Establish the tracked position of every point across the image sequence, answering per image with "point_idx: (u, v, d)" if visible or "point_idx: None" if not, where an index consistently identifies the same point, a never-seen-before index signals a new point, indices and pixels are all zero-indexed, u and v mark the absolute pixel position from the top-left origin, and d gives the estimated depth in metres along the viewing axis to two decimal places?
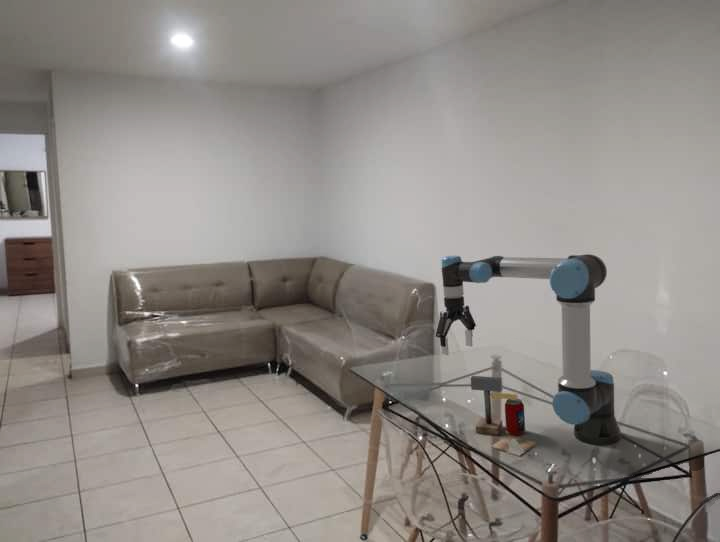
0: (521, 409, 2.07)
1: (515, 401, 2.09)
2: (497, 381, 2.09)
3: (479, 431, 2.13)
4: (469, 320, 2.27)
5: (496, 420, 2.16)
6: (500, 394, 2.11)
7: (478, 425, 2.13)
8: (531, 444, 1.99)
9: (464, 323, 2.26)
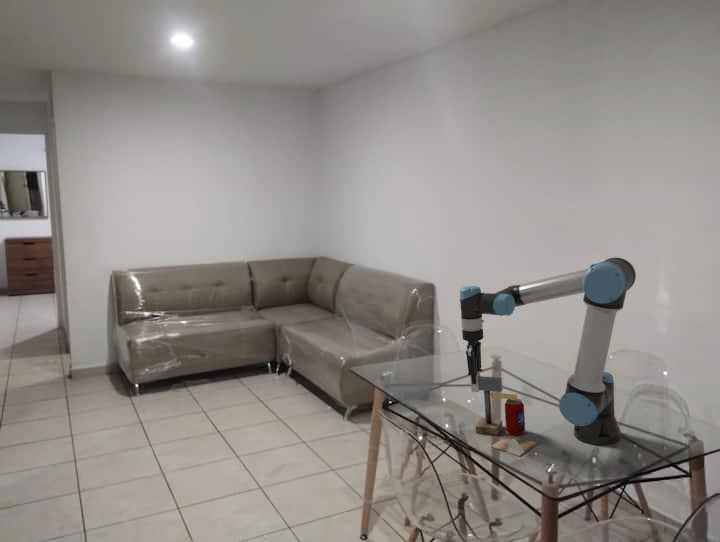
0: (521, 409, 2.07)
1: (515, 401, 2.09)
2: (497, 381, 2.09)
3: (479, 431, 2.13)
4: None
5: (496, 420, 2.16)
6: (500, 394, 2.11)
7: (478, 425, 2.13)
8: (531, 444, 1.99)
9: None
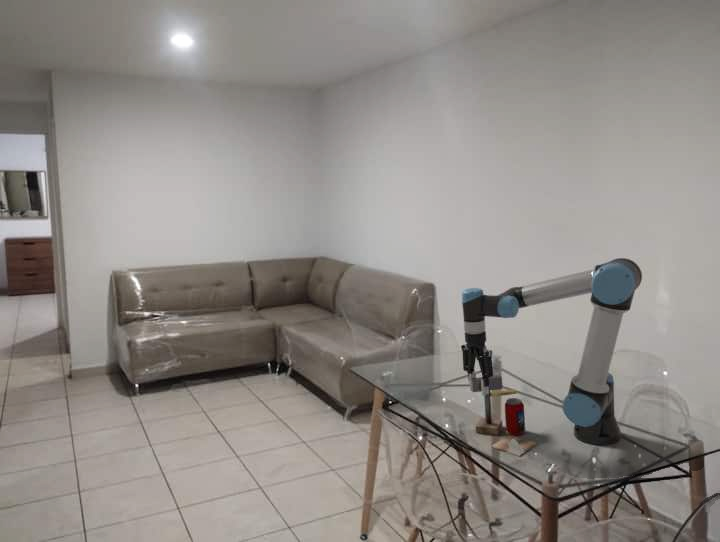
0: (521, 409, 2.07)
1: (515, 401, 2.09)
2: (499, 379, 2.12)
3: (479, 431, 2.13)
4: None
5: (496, 420, 2.16)
6: (499, 392, 2.13)
7: (478, 425, 2.13)
8: (531, 444, 1.99)
9: None
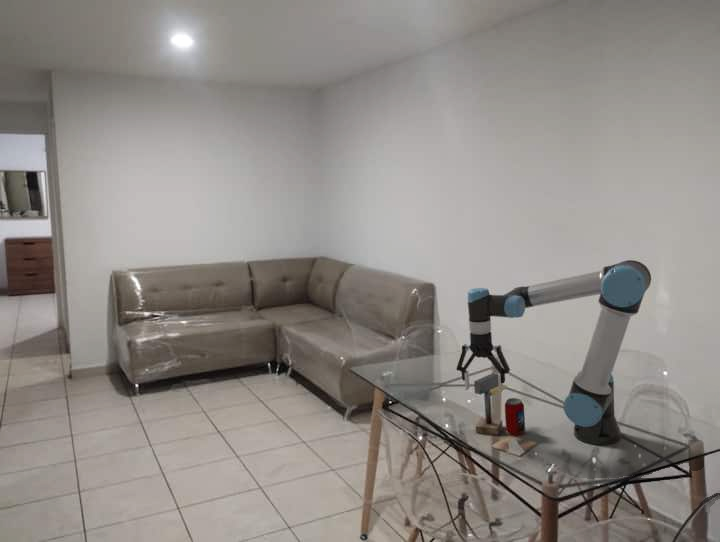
0: (521, 409, 2.07)
1: (515, 401, 2.09)
2: (496, 377, 2.14)
3: (479, 431, 2.13)
4: None
5: (496, 420, 2.16)
6: (495, 389, 2.16)
7: (478, 425, 2.13)
8: (531, 444, 1.99)
9: None
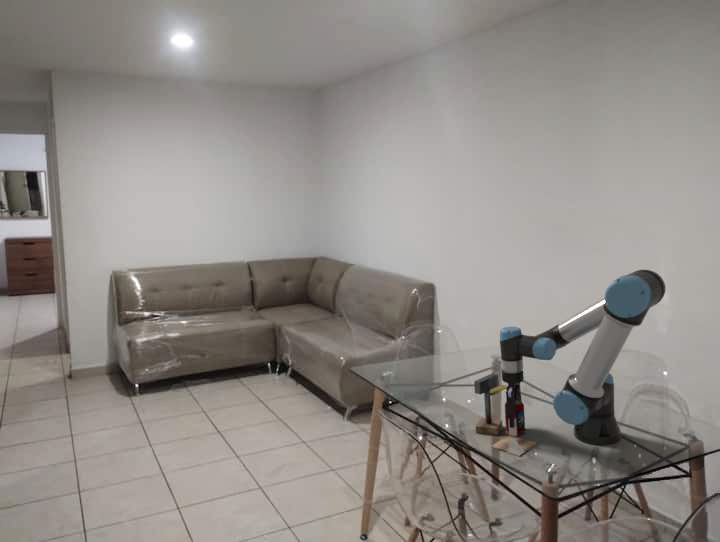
0: (521, 409, 2.07)
1: None
2: (496, 377, 2.14)
3: (479, 431, 2.13)
4: None
5: (496, 420, 2.16)
6: (495, 389, 2.16)
7: (478, 425, 2.13)
8: (531, 444, 1.99)
9: None
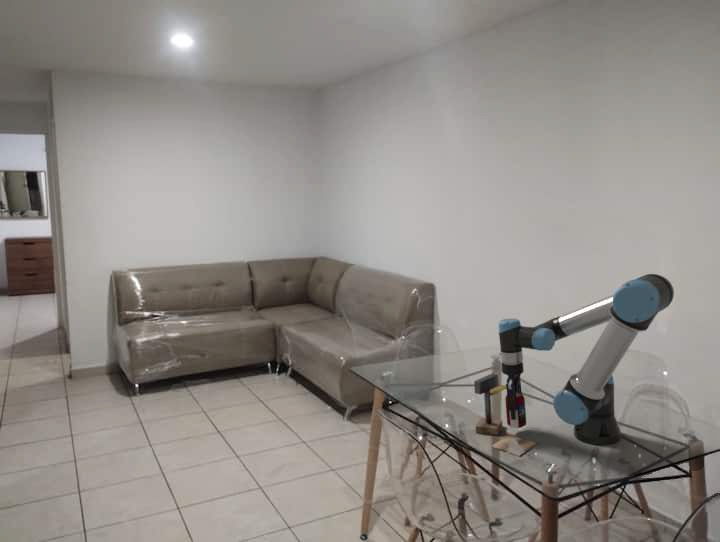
0: (522, 402, 2.06)
1: None
2: (496, 377, 2.14)
3: (479, 431, 2.13)
4: None
5: (496, 420, 2.16)
6: (495, 389, 2.16)
7: (478, 425, 2.13)
8: (531, 444, 1.99)
9: None
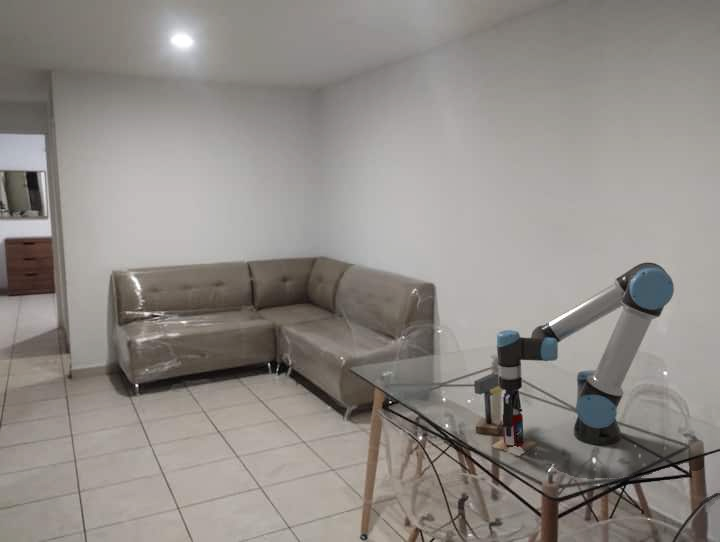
0: (520, 420, 1.96)
1: (513, 412, 1.98)
2: (496, 377, 2.14)
3: (479, 431, 2.13)
4: None
5: (496, 420, 2.16)
6: (495, 389, 2.16)
7: (478, 425, 2.13)
8: (531, 444, 1.99)
9: None
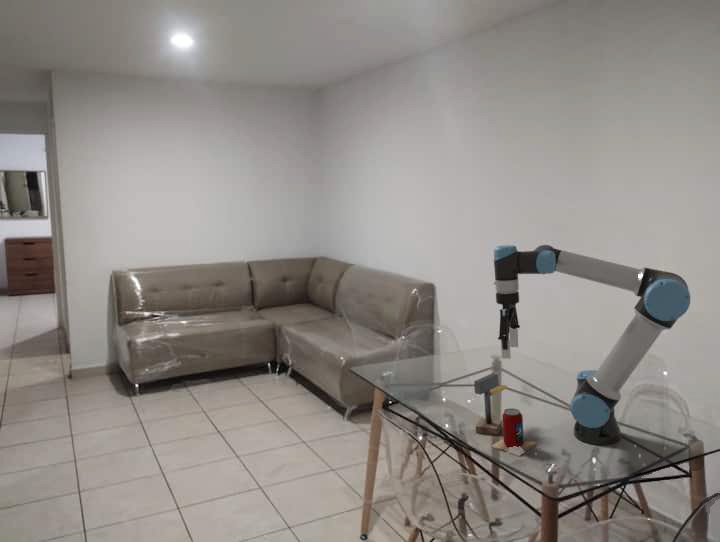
0: (519, 420, 1.96)
1: (513, 412, 1.98)
2: (496, 377, 2.14)
3: (479, 431, 2.13)
4: None
5: (496, 420, 2.16)
6: (495, 389, 2.16)
7: (478, 425, 2.13)
8: (531, 444, 1.99)
9: (511, 321, 2.01)
